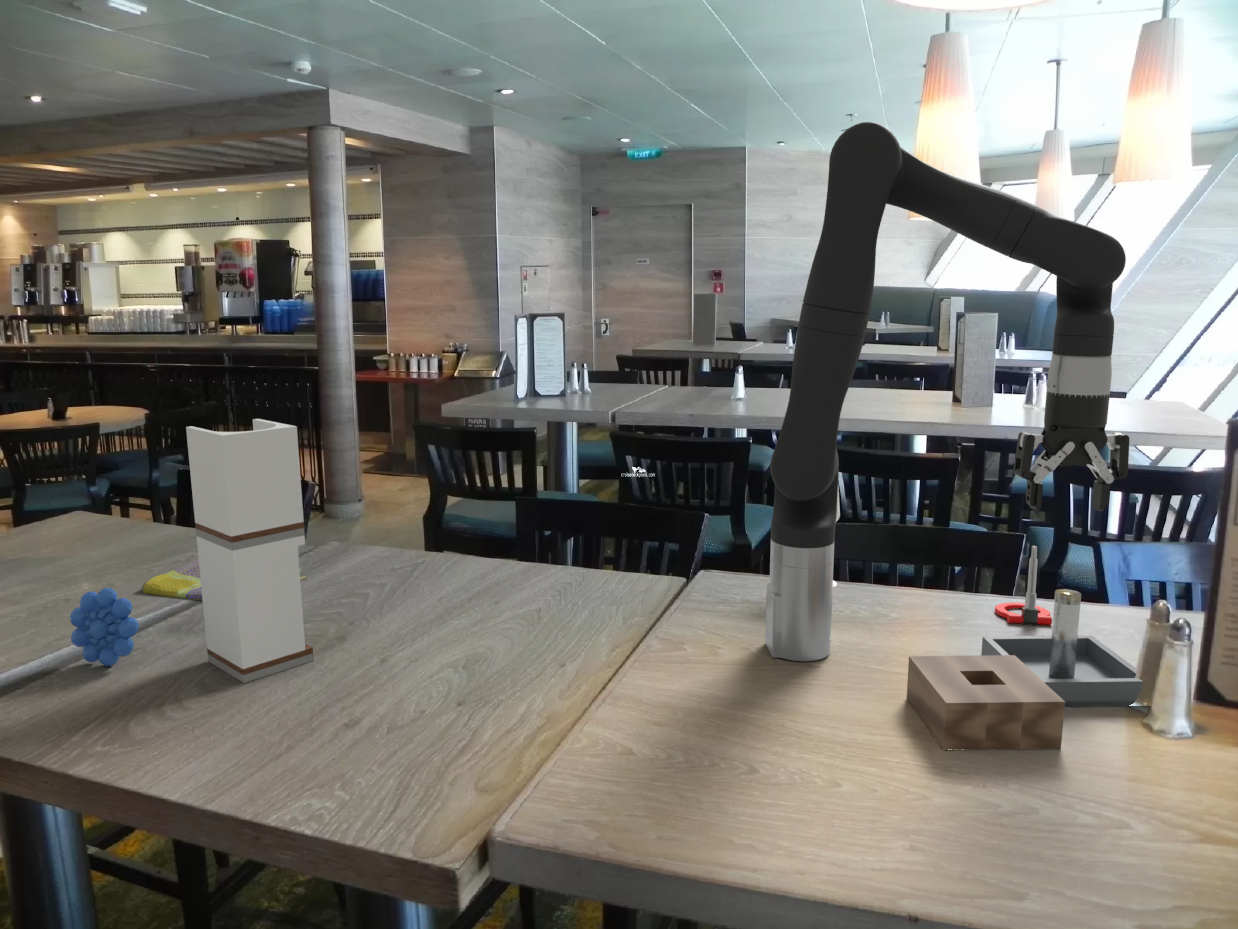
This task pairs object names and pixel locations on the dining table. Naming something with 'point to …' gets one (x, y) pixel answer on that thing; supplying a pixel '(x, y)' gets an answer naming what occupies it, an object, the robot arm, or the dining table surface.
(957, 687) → the block
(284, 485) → the white open tower
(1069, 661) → the pin
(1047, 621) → the tow hook
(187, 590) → the dish towel
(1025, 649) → the tray
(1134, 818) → the dining table surface
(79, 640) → the blue beaded flower
